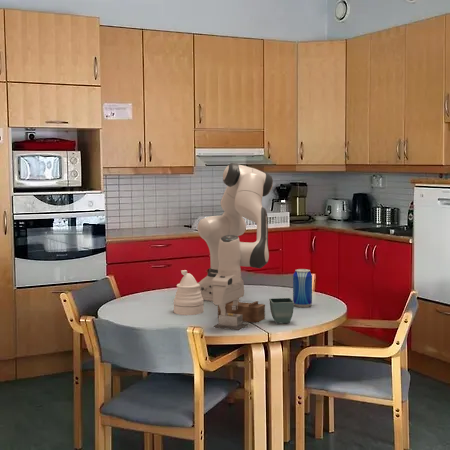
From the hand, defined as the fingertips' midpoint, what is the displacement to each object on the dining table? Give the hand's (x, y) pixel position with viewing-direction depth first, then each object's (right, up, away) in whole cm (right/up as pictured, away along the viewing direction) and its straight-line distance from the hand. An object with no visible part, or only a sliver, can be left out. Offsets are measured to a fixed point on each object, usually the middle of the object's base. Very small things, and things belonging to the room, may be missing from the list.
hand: (229, 312), depth 268 cm
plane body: (+5, -4, +14) cm, 15 cm away
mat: (+1, -6, 0) cm, 6 cm away
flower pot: (+21, -5, +7) cm, 23 cm away
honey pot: (-17, -3, +27) cm, 32 cm away
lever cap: (+1, -5, 0) cm, 5 cm away
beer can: (+33, -2, +38) cm, 50 cm away
